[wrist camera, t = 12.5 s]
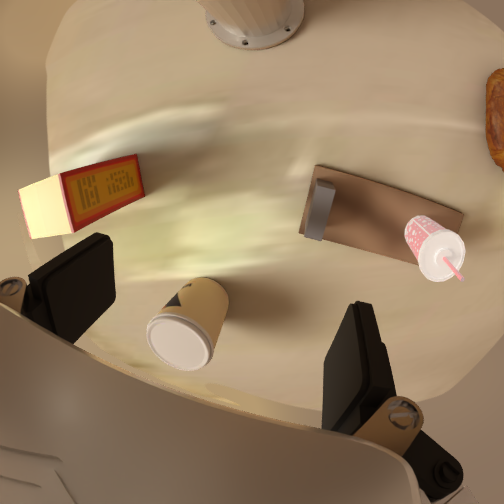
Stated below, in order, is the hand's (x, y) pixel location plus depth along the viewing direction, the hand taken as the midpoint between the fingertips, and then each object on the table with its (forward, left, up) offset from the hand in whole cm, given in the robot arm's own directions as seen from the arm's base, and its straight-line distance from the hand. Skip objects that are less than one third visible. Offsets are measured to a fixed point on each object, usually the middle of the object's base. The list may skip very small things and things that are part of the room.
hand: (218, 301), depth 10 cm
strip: (+2, +14, -28) cm, 32 cm away
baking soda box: (+5, -25, -28) cm, 38 cm away
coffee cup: (+21, -8, -28) cm, 36 cm away
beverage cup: (+2, +19, -29) cm, 34 cm away
